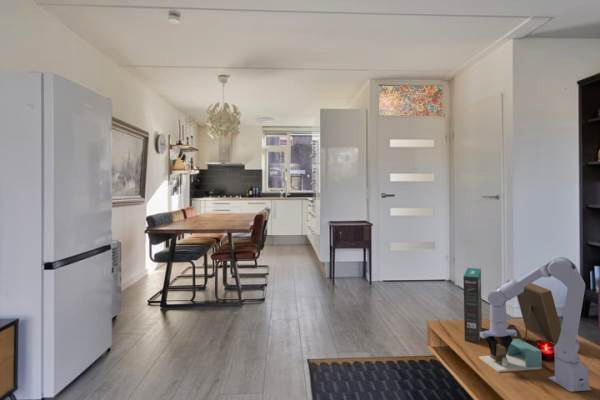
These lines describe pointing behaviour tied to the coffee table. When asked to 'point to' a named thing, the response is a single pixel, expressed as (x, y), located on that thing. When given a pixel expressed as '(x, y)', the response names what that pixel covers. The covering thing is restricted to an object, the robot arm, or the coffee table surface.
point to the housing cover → (526, 352)
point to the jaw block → (499, 353)
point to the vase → (512, 327)
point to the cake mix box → (472, 305)
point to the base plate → (508, 363)
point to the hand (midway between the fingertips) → (498, 354)
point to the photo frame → (539, 313)
